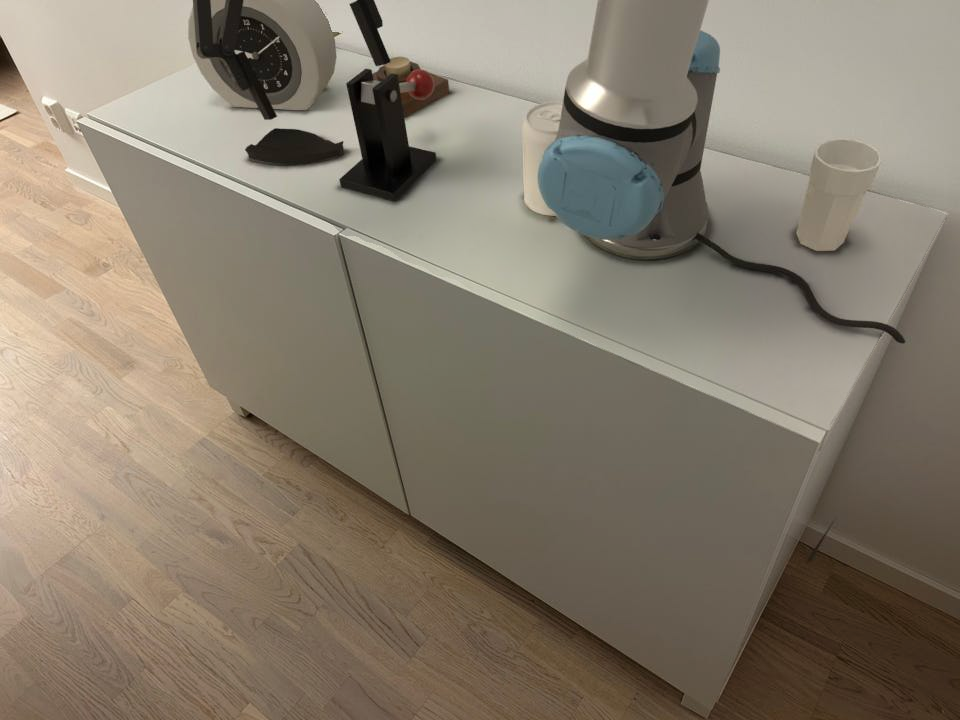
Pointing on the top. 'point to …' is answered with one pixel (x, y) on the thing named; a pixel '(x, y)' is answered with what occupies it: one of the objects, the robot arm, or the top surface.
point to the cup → (835, 191)
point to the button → (398, 66)
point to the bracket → (383, 142)
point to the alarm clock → (274, 52)
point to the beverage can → (538, 149)
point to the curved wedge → (293, 148)
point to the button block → (408, 101)
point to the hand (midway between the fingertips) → (328, 90)
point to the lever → (404, 86)
